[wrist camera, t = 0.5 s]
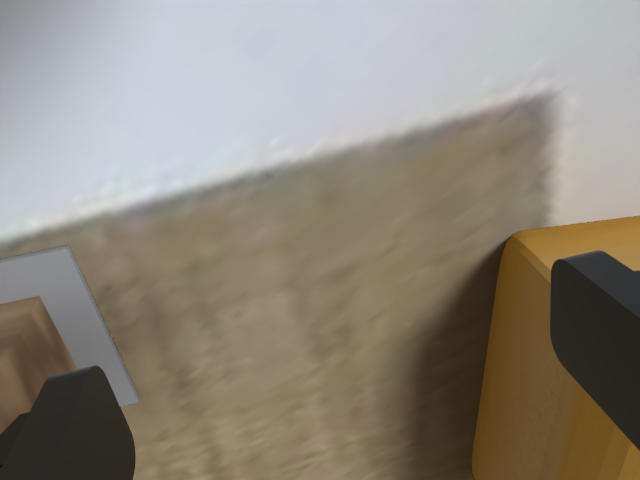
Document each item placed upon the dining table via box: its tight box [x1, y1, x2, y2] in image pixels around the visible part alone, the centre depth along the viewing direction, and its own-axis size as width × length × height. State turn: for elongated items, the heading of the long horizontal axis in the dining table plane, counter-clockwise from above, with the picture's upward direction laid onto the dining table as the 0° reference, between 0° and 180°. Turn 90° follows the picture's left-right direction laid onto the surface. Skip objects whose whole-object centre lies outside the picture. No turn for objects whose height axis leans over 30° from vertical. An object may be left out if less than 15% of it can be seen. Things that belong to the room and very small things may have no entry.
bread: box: [472, 216, 640, 480], centre depth 33 cm, size 24×13×15 cm, turn 3°
